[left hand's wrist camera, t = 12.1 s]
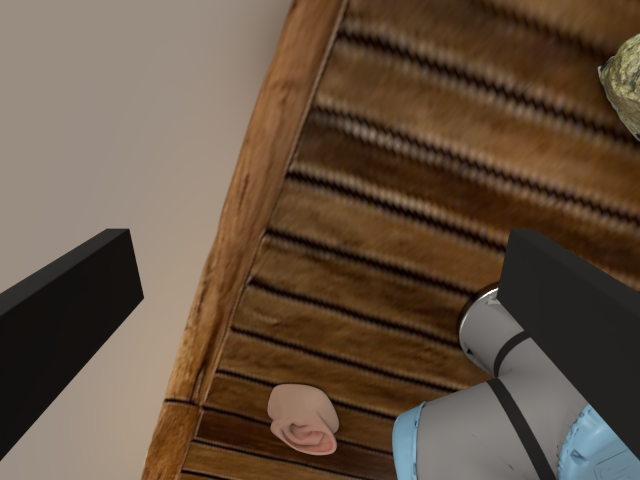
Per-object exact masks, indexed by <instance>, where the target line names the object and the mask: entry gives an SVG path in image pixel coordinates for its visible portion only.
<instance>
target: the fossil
mask: <svg viewBox="0 0 640 480" xmlns="http://www.w3.org/2000/svg"><path fill="white" fill-rule="evenodd" d="M598 72H599V78H600V82H601V83H602V85H603V86H604V89H605V91H606V95H607V98H608V100H609V101H610V102H611V104H612V106H613V108H614V109H615V110H616V111H617V113H618V116H619V118H620V120H621V121H622V122H623V123H624V125H625V126H626V127H627V128H628V130H629V131H630V132H631V133H632V134H633V135H634V136H635V137H636V139H638V140H639V141H640V34H637V35H635V36H633V37H632V38H630V39H628V40H627V41H625V42H624V43H623V44H622V45H621V46H620V47H619V49H618V51H617V53H616V55H615V56H613V57H611V58H610V59H609V60H608V61H607V62H606V64H605V65H602V66H600V67H598Z"/></svg>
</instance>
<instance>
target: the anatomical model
mask: <svg viewBox="0 0 640 480" xmlns="http://www.w3.org/2000/svg"><path fill="white" fill-rule="evenodd" d="M268 414H269V416H270V417H271V419H272V420H274V421H273V422H272V424H271V431H272V432H273V433H274V434H275V435H276V436H278V437H279V438H280V439H281V440H283V441H284V442H285V443H286V444H288V445H289V446H291V447H292V448H294V449H296V450H298V451H300V452H304V453H308V454H313V455H326V454H331V453H333V452H334V451H335V450H336V447H337V443H336V439H335V436H334V434H333V433H335V432H336V431H337V430H338V428H339V421H338V417H337V414H336V411H335V409H334V407H333V405H332V403H331V401H330V400H329V398H328V397H327V396H326V394H325V393H324V392H322V391H321V390H319V389H317V388H315V387H312V386H307V385H299V384H282V385H278V386H276V387H275V388H274V389H273V391H272V393H271V396H270V399H269V402H268Z"/></svg>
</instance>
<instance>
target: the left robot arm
mask: <svg viewBox="0 0 640 480" xmlns="http://www.w3.org/2000/svg"><path fill="white" fill-rule="evenodd" d="M143 299H144V295H143V291H142V286H141V281H140V277H139V272H138V267H137V263H136V258H135V253H134V249H133V244H132V239H131V235H130V230H129V229H106V230H104V231H102V232H101V233H99V234H97V235H96V236H94V237H93V238H91V239H89V240H88V241H86V242H84V243H83V244H81V245H79V246H78V247H76V248H75V249H73V250H71V251H70V252H68V253H66V254H65V255H63V256H61V257H60V258H58V259H56V260H55V261H53V262H52V263H50V264H48V265H47V266H45V267H43V268H42V269H40V270H38V271H37V272H35V273H33V274H32V275H30V276H29V277H27V278H25V279H24V280H22V281H20V282H19V283H17V284H16V285H14V286H12V287H10V288H9V289H7V290H6V291H4V292H2V293H1V294H0V461H1V460H2V459H3V457H4V456H5V455H6V454H7V453H8V452H9V451H10V450H11V448H12V447H13V446H14V445H15V444H16V443H17V442H18V440H19V439H20V438H21V437H22V436H23V435H24V434H25V433H26V431H27V430H28V429H29V428H30V427H31V426H32V425H33V424H34V422H35V421H36V420H37V419H38V418H39V417H40V416H41V414H42V413H43V412H44V411H45V410H46V409H47V408H48V407H49V405H50V404H51V403H52V402H53V401H54V400H55V399H56V397H57V396H58V395H59V394H60V393H61V392H62V391H63V390H64V388H65V387H66V386H67V385H68V384H69V383H70V382H71V380H72V379H73V378H74V377H75V376H76V375H77V374H78V373H79V371H80V370H81V369H82V368H83V367H84V366H85V365H86V363H87V362H88V361H89V360H90V359H91V358H92V357H93V355H94V354H95V353H96V352H97V351H98V350H99V349H100V347H101V346H102V345H103V344H104V343H105V342H106V341H107V340H108V339H109V337H110V336H111V335H112V334H113V333H114V332H115V331H116V329H117V328H118V327H119V326H120V325H121V324H122V323H123V321H124V320H125V319H126V318H127V317H128V316H129V315H130V314H131V312H132V311H133V310H134V309H135V308H136V307H137V306H138V304H139V303H140V302H141V301H142V300H143ZM456 335H457V339H458V342H459V344H460V346H461V348H462V349H463V351H464V353H465V355H466V356H467V357H468V358H469V359H470V360H471V361H472V362H473V363H474V364H476V365H477V366H478V367H479V368H481V369H482V370H483V371H485V372H486V373H487V374H488V375H490V376H491V377H492V378H494V379H492V380H489V381H486V382H483V383H481V384H478V385H475V386H472V387H469V388H466V389H464V390H461V391H458V392H455V393H452V394H449V395H446V396H444V397H441V398H438V399H435V400H432V401H429V402H427V401H425V402H423V403H422V404H420V406H418V407H416V408H413V409H411V410H408V411H406V412H404V413H402V414H400V415H399V416H398V418H397V419H396V421H395V424H394V428H393V435H392V442H393V455H394V462H395V467H396V473H397V478H398V480H640V294H639V293H638V292H636V291H634V290H633V289H631V288H630V287H628V286H626V285H625V284H623V283H621V282H620V281H618V280H616V279H615V278H613V277H611V276H610V275H608V274H607V273H605V272H603V271H602V270H600V269H598V268H597V267H595V266H593V265H592V264H590V263H589V262H587V261H585V260H584V259H582V258H580V257H579V256H577V255H575V254H574V253H572V252H570V251H569V250H567V249H566V248H564V247H562V246H561V245H559V244H557V243H556V242H554V241H552V240H551V239H549V238H547V237H546V236H544V235H543V234H541V233H539V232H538V231H536V230H534V229H511V230H510V235H509V239H508V244H507V249H506V253H505V258H504V263H503V267H502V272H501V277H500V281H499V282H497V283H494V284H491V285H489V286H487V287H485V288H483V289H482V290H480V291H479V292H477V293H476V294H475V295H474V296H472V297H471V298H470V299H469V300H468V302H467V303H466V304H465V305H464V307H463V308H462V310H461V312H460V314H459V316H458V319H457V324H456Z"/></svg>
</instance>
